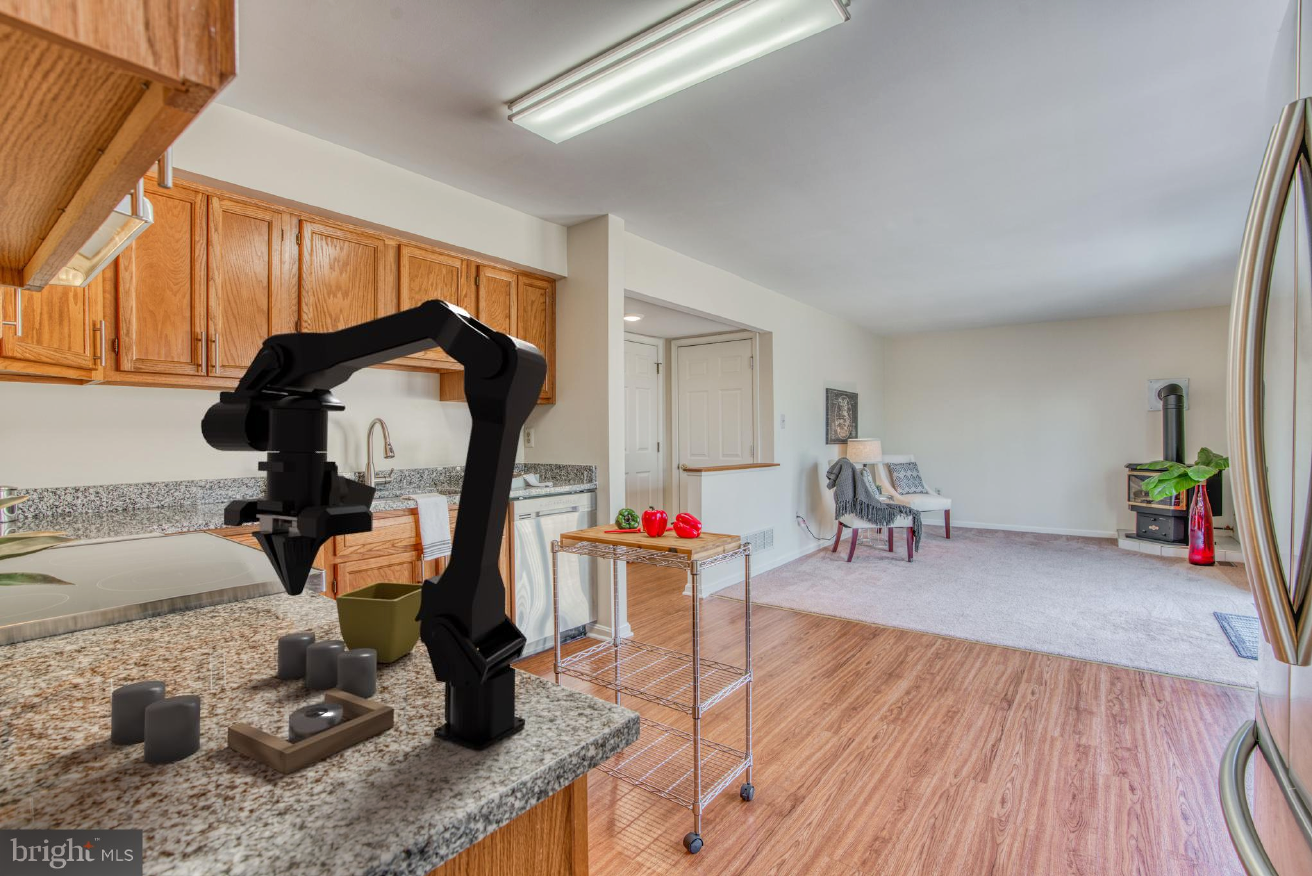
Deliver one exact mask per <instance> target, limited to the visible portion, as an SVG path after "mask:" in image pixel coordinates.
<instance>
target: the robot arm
mask: <svg viewBox="0 0 1312 876" xmlns="http://www.w3.org/2000/svg"><path fill="white" fill-rule="evenodd" d="M261 345H262V347H260V348H259V350H258V352H257V353H256V355H255V356H254V358H253V360H252V362H251V364H249V366H248V368H247V370H246V371H245V373H244V375H242V377H241V378H240V379H239V380H238V385H236V387H235V389H234V391H229V390H225V391H223V390H221V391H220V392H219V402H216V403H214V404H212V405H211V406H210V407H209V408H208V409H207V411H206V412H205V414H204V416H203V417H202V419H201V423H200V428H201V434H202V437H203V439H204V440H205V442H206V443H207V444H208V445H209V446H210V447H211V448H213V449H215V450H217V451H221V452H262V453H263V452H266V460H265V461H264V460H263V461H261V460H260V461H259V460H258V461H257V472H266V479H265V480H266V483H265V484H266V486H265V488H266V489H265V491H266V492H265V494H266V496H265V497H262V498H261V497H259V498H258V497H257V498H246V499H242V498H241V499H233V500H231V501H230V503H228V504H227V505H226V506H225V507H224V508H223V526H228V527H235V528H236V527H242V526H243V524H249V523H251V524H252V523H258V525H259V527H258V530H256V531H251V536H252V538H255V539H256V540H257V542H258V544H259V546H260V548H261V549H262V550H263V553H264V554H265V556H266V558H267V559H268V560H269V563H270V564H271V566H272V568H273V570H274V571H275V574H276V575H277V577H278V579H279V582H281V584H282V586H283V588H284V590H285V592H286V594H287V595H288V596H292V597H295V596H300V595H301V594H303V591H304V589H305V586H306V583H307V581H308V578H309V575H310V573H311V570H312V568H313V566H314V565H313V564H314V562H315V559H316V557H317V555H318V554H319V551H320V549H321V547H322V546H323V545H324V544H325V543H327V541H329V540H330V539H331V538H332V537H339V536H345V535H347V536H348V535H355V534H361V533H362V534H363V533H370V532H371V533H372V532H373V528H374V526H373V523H374V522H373V521H374V513H373V512H372V511H371V507H372V505H373V500H374V498H375V495H376V491H377V487H374V486H371V485H370V484H365V483H362V482H360V481H357V480H355V479H351V478H349V477H346V476H345V475H339V466H338V464H337V463H336V461H328V437H329V435H328V432H329V430H328V429H329V428H328V427H329V425H328V424H329V412H344V411H345V410H346V406H345V404H344V403H342V402H341V401H340V400H339V399H338V398H337V397H335V395H334V394H333V393H332V391H331V390H332V389H334V388H336V387H339V386H340V385H342V384H345V383H346V382H348V381H349V379H350V378H351V377H352V375H353V374H355V373H356V372H358V371H360V370H362V369H365V368H369V367H372V366H375V365H379V364H383V363H386V362H390V361H393V360H397V359H401V358H404V357H409V356H411V355H415V354H418V353H422V352H425V351H429V350H433V349H436V348H440V349H441V350H442V351H443V352H444V353H445V354H446V355H447V356H448V357H450V358H451V359H453V360H454V361H456V362H457V363H459V364H460V365H461V366H463V393H464V396H465V400H466V404H467V408H468V411H469V414H470V417H471V429H470V435H469V440H468V447H467V452H466V459H465V464H464V465H465V466H464V470H463V476H462V477H463V478H462V482H461V483H462V484H461V488H460V495H459V500H458V501H459V502H458V506H457V512H456V519H455V524H454V529H453V537H452V544H451V549H450V553H449V554H450V555H449V560H448V563H447V565H446V567H445V568H444V570H443V572H442V573H440V574H437V575H435V576H432V577H429V578H425V579H424V580H423V583H422V584H423V585H422V588H421V606H420V609H419V612H418V614H417V616H416V618H415V621H416V622H418V621H420V620H421V623H420V638H419V639H420V642H421V643H422V644H424V646H425V647H426V650H427V653H428V657H429V661H430V663H431V667H432V670H433V674H434V677H435V680H436V682H439V683H445V685H444V686H445V687H444V689H445V691H444V722H446V723H443V724H442V725H440V726H438V727H436V728H434V729H433V735H434V736H435V737H438V738H440V739H443V740H447V741H449V742H451V743H455V744H458V745H460V746H464V747H466V748H469V749H472V750H475V751H482V750H485V749H487V748H488V747H490V746H492V745H493V744H495V743H497V742H498V741H500V740H503V739H504V738H505V737H508V736H510V734H512V733H515V732H516V731H518V730H520V729H521V728H523V727H525V725H526V719H525V718H523V717H518V716H515V715H516V712H515V711H516V668H515V667H511V663H512V662H513V661H515V660H517V659H519V658H521V657H522V656H523V653H524V649H525V646H526V644H527V641H528V640H527V637H526V636H525V635H524V634H523V632H522V631H521V630H520V629H519V628H518V626H517V625H516V624H515V623H514V622H513V621H512V620H513V619H511V618H510V617H509V616H508V614H507V613H506V587H505V584H504V580H503V577H502V574H501V571H500V568H499V567H500V566H499V562H500V556H501V549H502V543H503V537H504V532H505V526H506V519H507V515H508V509H509V500H510V495H511V490H512V484H513V479H514V472H515V465H516V460H517V454H518V449H519V443H520V435H521V431H522V429H523V426H524V425H525V423H526V421H527V420H528V419H529V417H530V415H531V413H532V412H533V410H534V409H535V407H536V405H537V404H538V401H539V398H540V395H541V392H542V391H543V387H544V384H545V381H546V377H547V373H548V363H547V358H546V357H544V354H542V352H541V350H540V349H539V348H538V347H537V346H535V345H534V344H532V343H530V342H527V341H525V340H522V339H519V338H517V337H514V336H512V335H509V334H507V333H503V332H501V331H496V330H495V329H493V328H491V327H490V326H487V325H486V324H485V323H483V322H481V321H479V320H477V319H476V318H475V317H473V316H472V315H470V314H469V313H468V311H467V310H465V309H464V308H463V307H460V306H458V305H454V304H453V303H451V302H448V301H445V300H442V299H440V298H439V299H438V298H434V299H427V300H425V301H424V302H422V303H421V304H420V305H418V306H417V305H416V306H414V307H411V308H407V309H405V310H400V311H398V312H394V313H391V314H388V315H385V316H384V315H383V316H381V317H378V318H373V319H371V320H368V321H364V322H360V323H358V324H354V325H351V326H349V327H344V328H341V329H339V330H334V331H327V332H315V331H313V332H307V331H302V332H301V331H298V332H297V331H296V332H288V333H287V332H286V333H277V334H276V333H275V334H272V335H270V336H268V337H267V338H265V339H264V340H263V341H262V344H261Z"/></svg>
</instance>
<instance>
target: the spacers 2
mask: <svg viewBox="0 0 1312 876" xmlns="http://www.w3.org/2000/svg"><path fill="white" fill-rule="evenodd" d="M345 650H346V644H345V642H344V640H340V639H329V640H328V639H327V640H321V641H316V633H315V632H308V631H307V632H306V631H305V632H304V631H303V632H294V633H289V634H286V635H282V636H281V637H278V640H277V678H278V679H279V680H284V681H285V680H286V681H287V680H291V681H292V680H298V679H303V678H305V688H307V689H308V690H313V691H319V690H327V689H331V688H334V687H337V688H336V689H337V690H340V691H343V692H346V693H349V694H352V695H355V696H358V697H361V698H364V699H367V698H369V697H372V696H373V695H374V694H375V693H376V692H377V662H376V657H377V651H376V650H374V649H370V648H360V649H353V650H349V649H348V650H346V651H345Z"/></svg>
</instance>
